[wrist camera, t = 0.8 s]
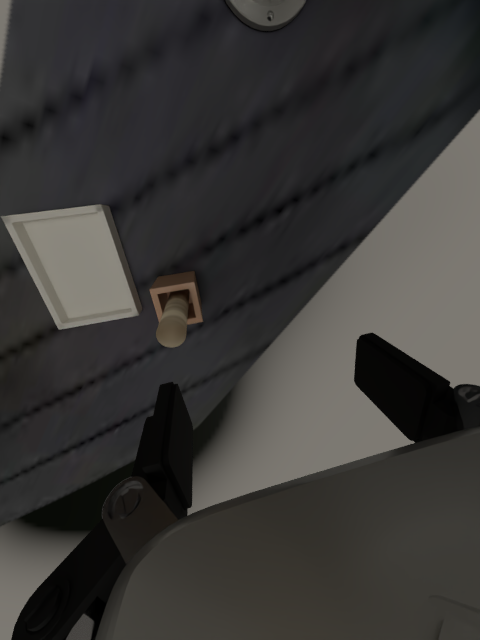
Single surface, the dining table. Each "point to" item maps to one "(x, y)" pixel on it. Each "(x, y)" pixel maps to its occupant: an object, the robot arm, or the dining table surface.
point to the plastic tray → (76, 264)
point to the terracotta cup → (175, 283)
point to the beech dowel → (174, 319)
